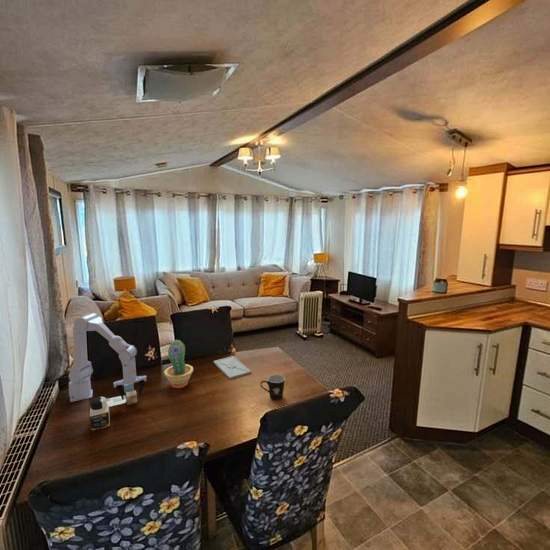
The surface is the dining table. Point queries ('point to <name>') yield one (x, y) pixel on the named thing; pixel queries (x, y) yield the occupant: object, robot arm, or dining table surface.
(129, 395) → the oak block
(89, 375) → the robot arm
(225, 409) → the dining table surface
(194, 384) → the dining table surface
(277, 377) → the coffee mug
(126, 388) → the slate cube
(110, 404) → the letter
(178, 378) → the potted cactus
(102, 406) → the medicine bottle
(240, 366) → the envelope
